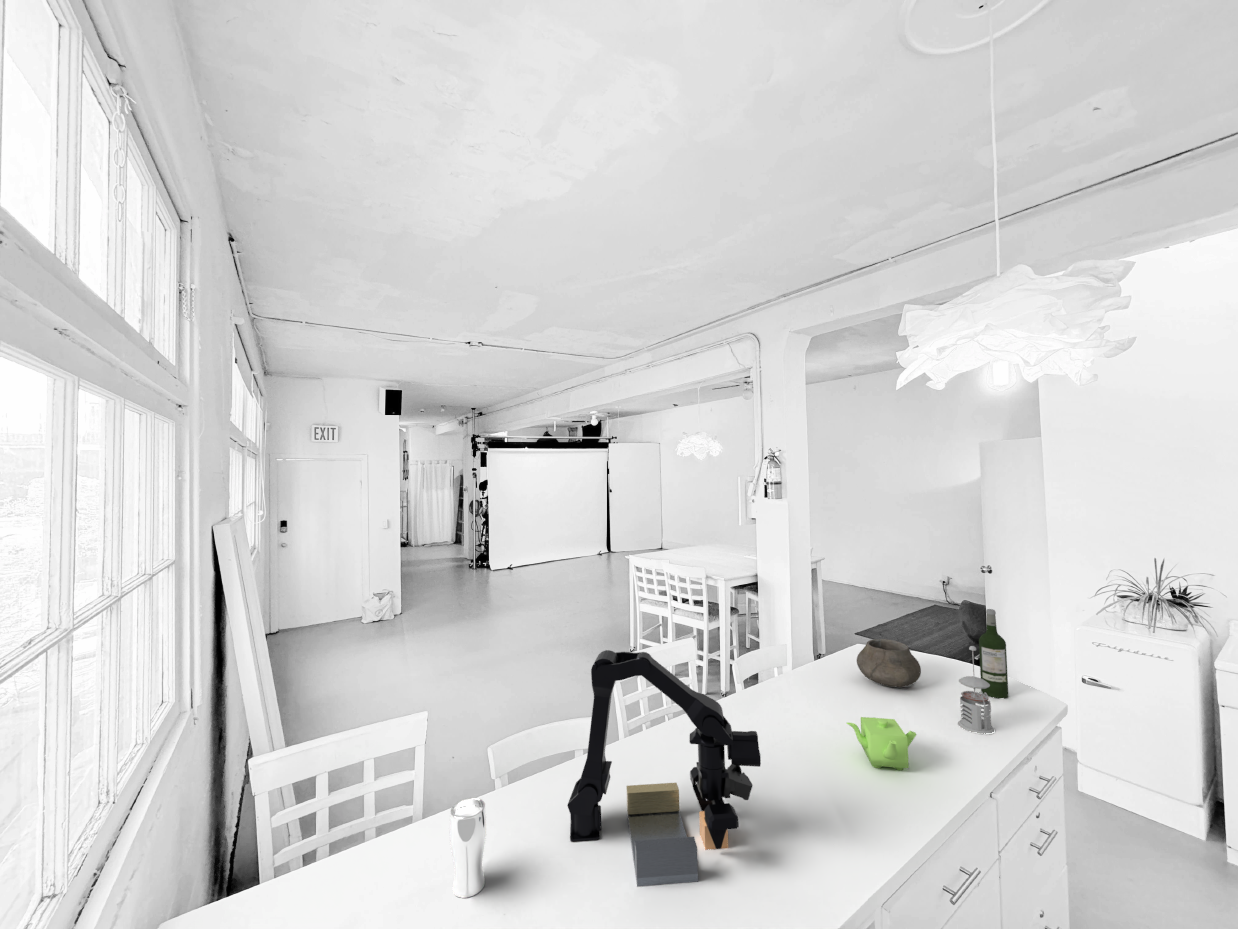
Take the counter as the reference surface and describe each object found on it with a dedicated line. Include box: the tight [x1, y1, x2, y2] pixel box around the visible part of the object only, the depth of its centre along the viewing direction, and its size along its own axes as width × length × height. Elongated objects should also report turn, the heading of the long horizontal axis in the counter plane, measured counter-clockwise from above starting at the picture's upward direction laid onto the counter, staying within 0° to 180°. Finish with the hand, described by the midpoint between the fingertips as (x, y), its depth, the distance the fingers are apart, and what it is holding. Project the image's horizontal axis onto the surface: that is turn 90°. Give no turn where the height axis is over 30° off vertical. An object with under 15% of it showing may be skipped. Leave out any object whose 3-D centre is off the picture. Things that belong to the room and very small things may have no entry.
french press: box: [957, 645, 995, 735], centre depth 161 cm, size 10×12×25 cm
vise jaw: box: [626, 782, 680, 814], centre depth 121 cm, size 12×3×5 cm, turn 94°
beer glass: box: [449, 797, 487, 899], centre depth 101 cm, size 7×7×15 cm
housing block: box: [698, 810, 729, 851], centre depth 113 cm, size 5×5×5 cm
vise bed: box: [626, 810, 699, 887], centre depth 112 cm, size 12×22×7 cm, turn 4°
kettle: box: [846, 716, 917, 771], centre depth 143 cm, size 15×14×11 cm
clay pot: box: [856, 638, 922, 688], centre depth 197 cm, size 22×21×15 cm
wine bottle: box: [978, 608, 1009, 699], centre depth 185 cm, size 8×8×30 cm
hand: (713, 835), depth 112 cm, fingers open, 8 cm apart
